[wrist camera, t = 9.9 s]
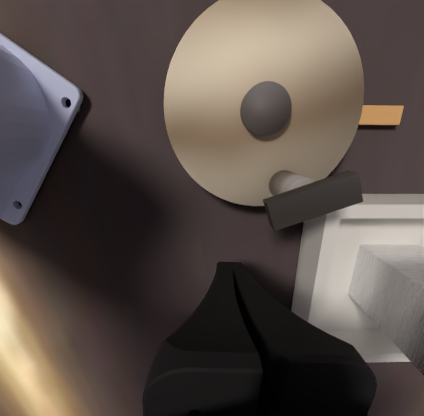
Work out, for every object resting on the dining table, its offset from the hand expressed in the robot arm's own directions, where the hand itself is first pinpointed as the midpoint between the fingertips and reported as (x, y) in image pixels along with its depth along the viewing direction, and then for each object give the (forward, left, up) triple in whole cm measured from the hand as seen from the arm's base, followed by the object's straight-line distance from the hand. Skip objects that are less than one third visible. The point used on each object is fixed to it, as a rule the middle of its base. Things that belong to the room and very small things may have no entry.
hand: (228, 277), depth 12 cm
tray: (+5, -10, -3) cm, 12 cm away
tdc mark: (+12, -2, -3) cm, 13 cm away
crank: (+8, +4, -3) cm, 9 cm away
